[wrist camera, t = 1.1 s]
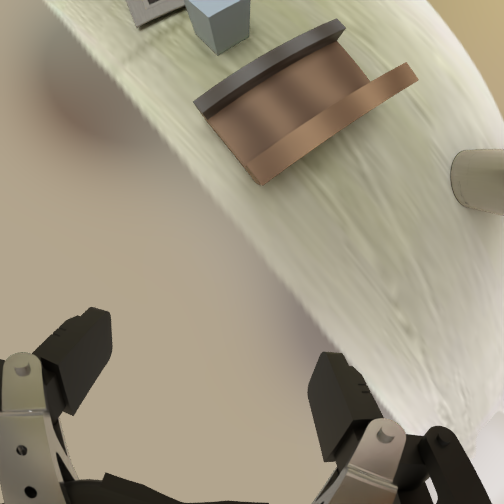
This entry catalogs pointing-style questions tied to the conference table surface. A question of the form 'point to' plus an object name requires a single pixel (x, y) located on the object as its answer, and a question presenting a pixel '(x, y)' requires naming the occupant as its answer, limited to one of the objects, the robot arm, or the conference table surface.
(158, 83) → the conference table surface
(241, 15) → the cabinet block
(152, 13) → the electrical outlet
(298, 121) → the board
